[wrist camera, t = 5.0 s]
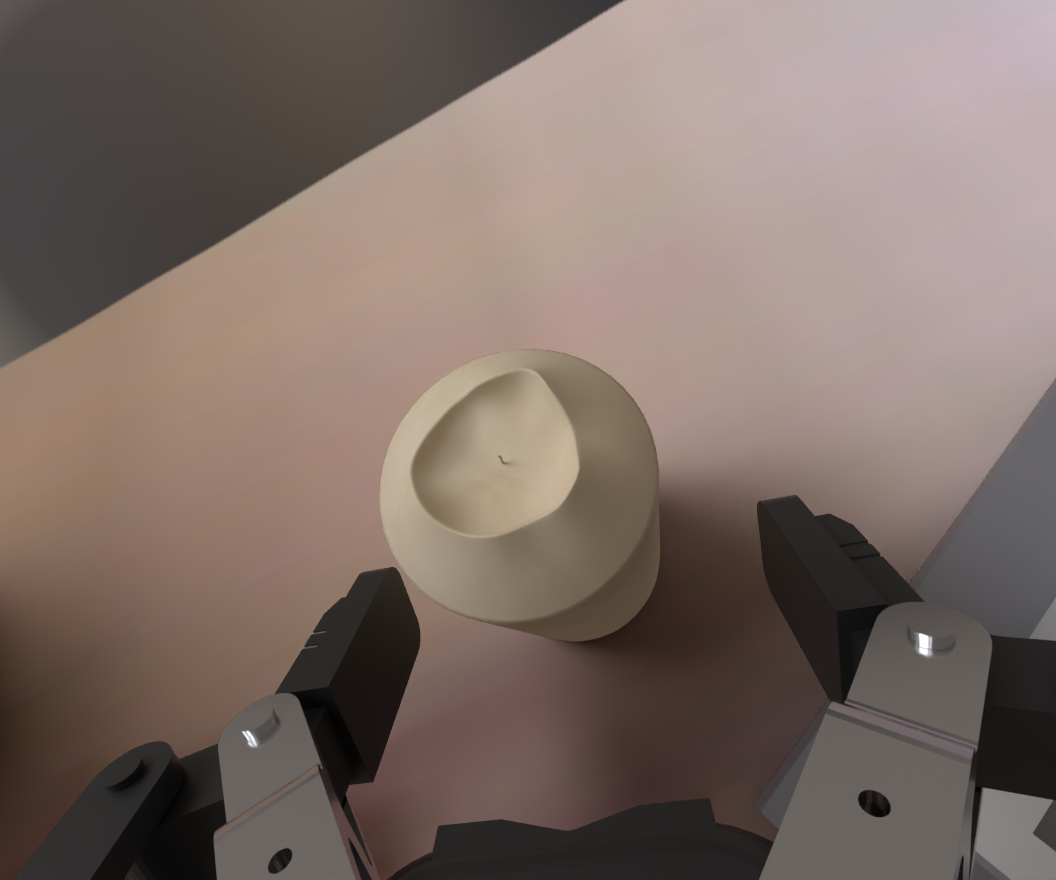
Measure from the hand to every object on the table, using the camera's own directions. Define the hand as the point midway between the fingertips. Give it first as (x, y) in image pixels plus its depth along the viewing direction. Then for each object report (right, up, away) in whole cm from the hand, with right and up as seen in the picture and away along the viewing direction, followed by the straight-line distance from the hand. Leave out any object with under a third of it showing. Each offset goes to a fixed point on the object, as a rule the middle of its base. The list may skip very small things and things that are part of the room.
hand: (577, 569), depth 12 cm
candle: (0, -1, +6) cm, 6 cm away
